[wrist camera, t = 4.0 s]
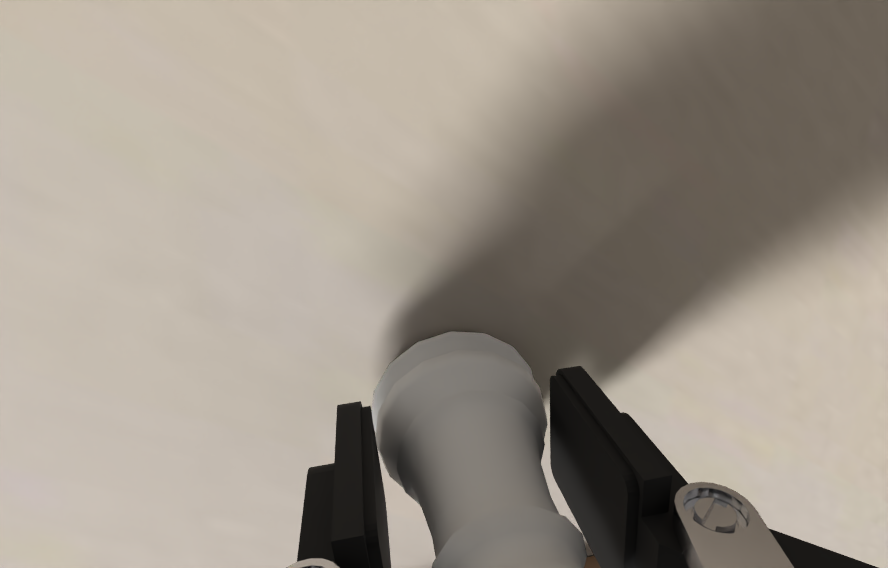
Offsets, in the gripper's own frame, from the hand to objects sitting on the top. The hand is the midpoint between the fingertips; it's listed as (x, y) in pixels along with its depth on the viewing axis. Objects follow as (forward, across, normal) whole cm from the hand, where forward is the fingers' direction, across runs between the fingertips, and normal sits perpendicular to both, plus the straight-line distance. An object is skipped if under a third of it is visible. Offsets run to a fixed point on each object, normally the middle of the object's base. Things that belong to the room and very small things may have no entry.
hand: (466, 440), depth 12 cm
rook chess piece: (+2, 0, 0) cm, 2 cm away
